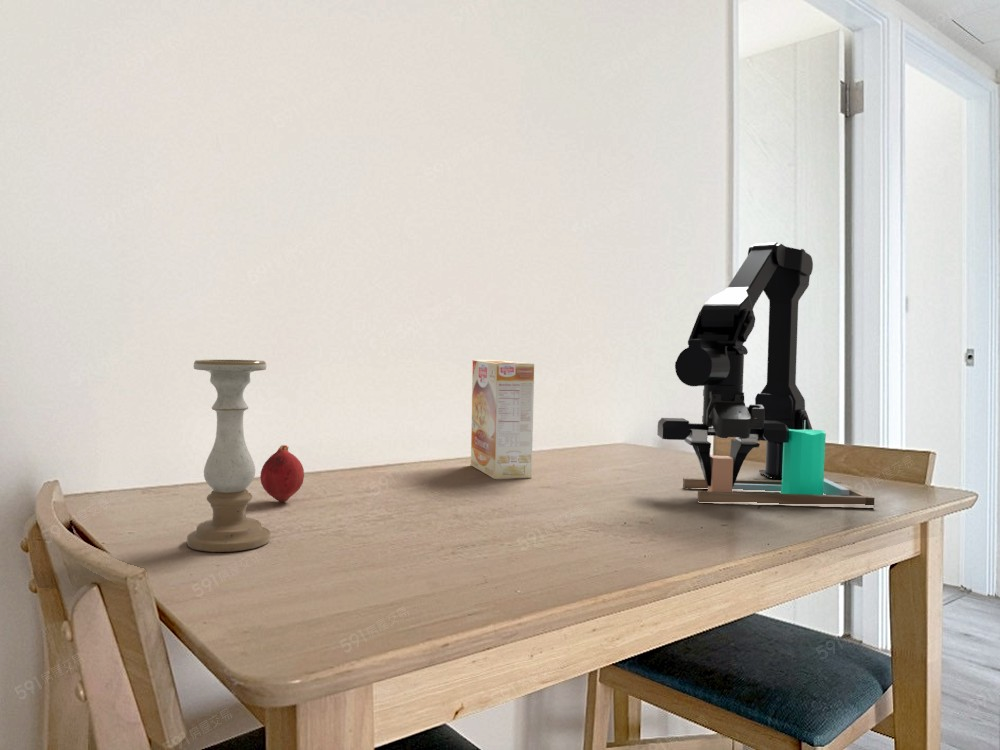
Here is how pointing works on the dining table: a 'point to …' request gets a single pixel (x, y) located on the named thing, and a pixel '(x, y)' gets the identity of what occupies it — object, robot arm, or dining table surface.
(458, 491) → the dining table surface
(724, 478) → the frame
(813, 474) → the candle
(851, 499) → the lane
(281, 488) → the onion
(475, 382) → the coffeecake box
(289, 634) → the dining table surface
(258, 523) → the candle holder
